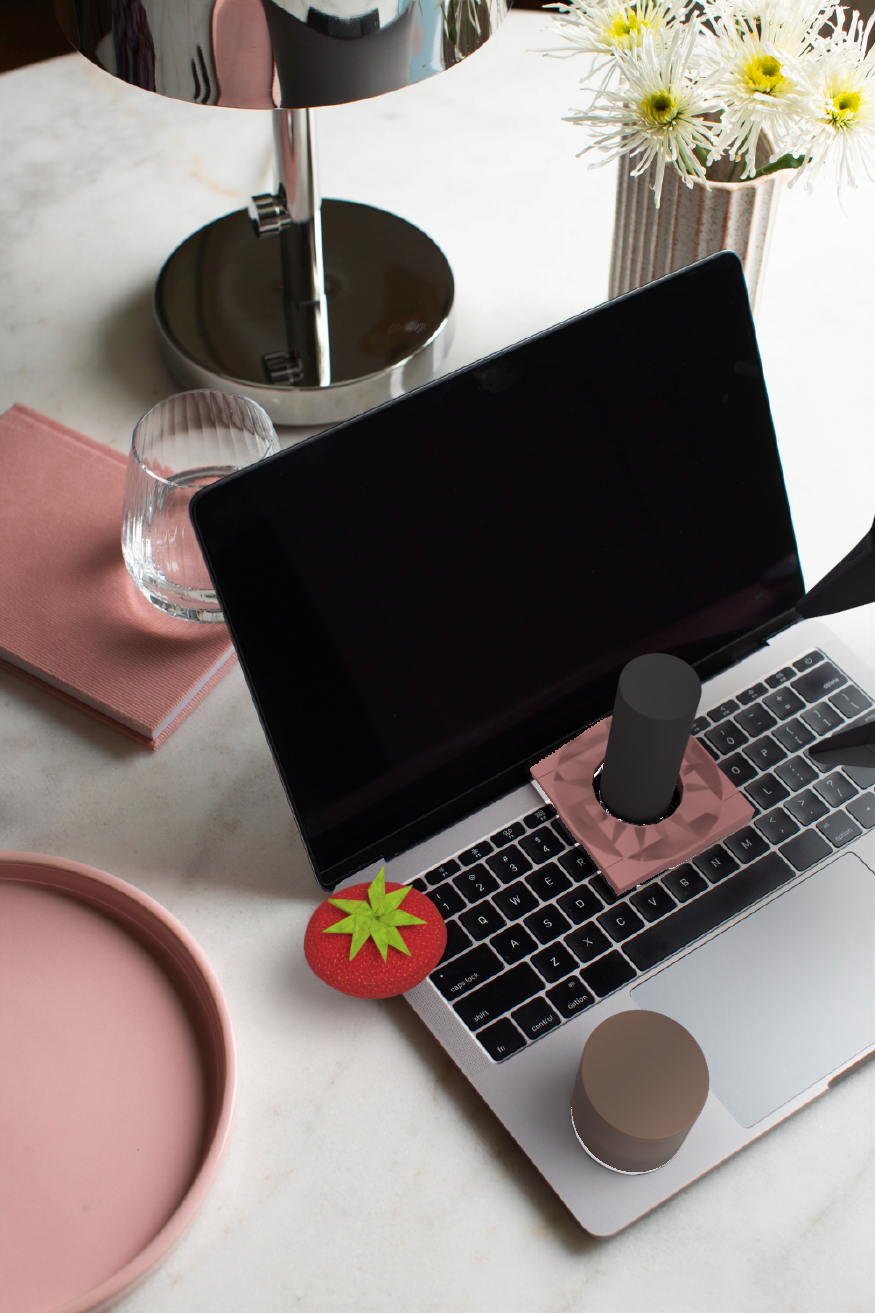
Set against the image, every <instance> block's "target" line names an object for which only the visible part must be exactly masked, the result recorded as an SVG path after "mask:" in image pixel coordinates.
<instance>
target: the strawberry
mask: <svg viewBox="0 0 875 1313" xmlns="http://www.w3.org/2000/svg"><path fill="white" fill-rule="evenodd" d="M413 886H414V885H413V884H411V885H410V884H409V885H406V884H403V883H399V882H393V881H385V865H383V866H382V867H381V868H380V870H379V872H378V874H377V875H376V877H375V878H374V880H373V881H366V882H361V883H356V884H354V885H351V886H347V887H345V888H343V889H341V890H339V891H337V892H335V893H333V894H331V895H330V896H329V897H327V898H325V899H324V900H323V901H322V903H320V904H319V905H318V907H316V908H315V910H314V912H313V913H312V915H311V916H310V918H309V920H308V923H307V926H306V929H305V932H304V936H303V947H302V948H303V953H304V959H305V961H306V963H307V965H308V967H309V968H310V970H311V971H312V972H313V973H314V975H315V976H316V977H317V978H318V979H320V980H321V981H322V982H324V983H325V984H326V985H327V986H328V987H331V988H332V989H334V990H335V991H338V992H339V993H341V994H344V995H346V996H348V997H353V998H357V999H362V1000H363V999H364V1000H383V999H387V998H392V997H396V996H399V995H402V994H404V993H407V992H408V991H410V990H412V989H414V988H416V987H417V986H418V985H420V984H421V983H422V982H423V981H424V980H426V978H427V977H428V976H429V975H430V974H431V973H432V972H433V970H434V969H435V968H436V966H437V965H438V964H439V962H440V960H441V958H442V957H443V955H444V953H445V950H446V947H447V946H446V945H447V943H448V930H447V926H446V923H445V920H444V918H443V917H442V914H441V913H440V911H439V909H438V907H437V906H436V904H435V903H434V902H433V901H432V900H431V899H430V898H429V897H428V896H427V895H425V894H424V893H422V892H421V891H420V890H418V889H416V888H414V887H413Z"/></svg>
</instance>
